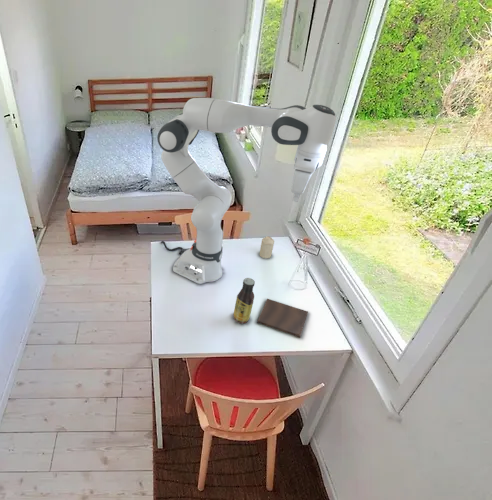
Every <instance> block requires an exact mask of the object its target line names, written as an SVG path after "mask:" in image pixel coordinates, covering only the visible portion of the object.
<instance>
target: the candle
mask: <svg viewBox="0 0 492 500" xmlns="http://www.w3.org/2000/svg"><path fill="white" fill-rule="evenodd" d="M274 245H275V240H274V238H272V236H267V235H266V236H265V237H263V238H261V243H260V248H259V256H260V257H261V258H262V259H270V258H271V257H272V254H273V249H274Z"/></svg>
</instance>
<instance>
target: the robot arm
mask: <svg viewBox="0 0 492 500" xmlns="http://www.w3.org/2000/svg"><path fill="white" fill-rule="evenodd" d="M336 117H337V115H336V113H335V111H334V110H333V109H332V108H331V107H328V106H327V105H323V104H312V106H309V107H307V108H306V107H305V106H303V105H300V104H299V105H298V104H296V105H290V106H287V107H281V108H278V107H277V108H276V107H267V106H258V105H257V106H256V105H249V104H244V103H238V102H235V101H230V100H225V99H221V98H220V99H219V98H214V97H193V98H190V99H188V100H187V101H186V103H185V104H184V106H183V109H182V113H179V114H178V115H176V116H174V117H172V118H171V119H169V120H168V122H166V123H164V124H163V126H161V128H160V129H159V131H158V133H157V137H156V138H157V144H158V146H159V147H160V148H161V150H162V152H161V153H160V154H161V156H160V158H161V161H162V163H163V165H164V167H165V169H166V170H167V172H168V173H169V175H170V177H171V178H172V179H173V180H174V182H175V183H176V184H177V186H178V187H179V189H180V190H181V191H182V192H183V193H184V194H185V195H190V196H192V197H194V198H195V199H196V200H197V201H198V203H197V204H196V205H195V206H194V208H193V210H192V213H191V216H190V221H191V223H192V225H193V227H195V228H196V229H195V230H196V238H195V239H194V241H193V243H192V245H191V247H190V248H183V247H181V246H177V247H174V248H169V247H168V246H167V244H166V242H165V241H164V240H161V241H160V243H162V244H163V246H164V248H165V250H167V251H169V252H174V251H177V250H180V251H179V252H178V254H179V255H180V257H178V258H177V259H176V260H175V262H174V263H173V266H172V272H174V273H175V274H177V275H179V276H181V277H183V278H185V279H188V280H190V281H191V282H194V283H195V284H197V285H203V284H205V283H212V282H216V281H218V280H220V279H221V278H222V276H223V269H222V268H223V267H222V258H223V240H224V231H223V228H222V220H223V218H224V216H225V214H226V213H227V211H228V210H229V209H230V207H231V204H232V200H233V196H232V192H231V191H230V190H229V189H228V188H227V187H225V186H222V185H221V186H220V185H219V184H217V183H216V182H214V181H213V179H211V178H210V177H208V175H207V174H206V173H205V171H203V169H202V167H200V165H199V164H198V163H197V161H196V160H195V159H194V157H193V156H192V154H191V153H190V150H189V146H191V145H192V144H193V142H194V140H195V139H196V138H197V137H198V134H199V132H200V131H206V132H211V133H215V134H216V133H217V134H220V133H221V134H226V133H227V134H228V133H231V132H234V131H236V130H238V129H241V128H244V127H249V126H258V127H267V128H271V130H270V131H271V137H272V139H273V140H274V141H275V142H276V143H277V144H279V145H284V146H297V148H296V152H295V156H294V159H293V161H294V165H293V169H294V173H293V178H292V182H291V183H292V184H291V193H293V198H292V202H294V203H298V202H299V200H300V197H301V195H304V193H305V190H306V189H307V186H308V184H309V182H310V180H311V178H312V176H313V174H314V173H315V172H316V171H317V170H318V169H320V167H322V166H323V163H324V160H325V157H326V153H327V151H328V143H329V142H330V140H331V139H332V136H333V132H334V129H335V124H336Z"/></svg>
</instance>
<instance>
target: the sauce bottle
mask: <svg viewBox="0 0 492 500" xmlns="http://www.w3.org/2000/svg"><path fill="white" fill-rule="evenodd" d="M255 285H256V283H255V279H254V278H251V277H246V278H245V277H244V279H243V281H242V287H241V289H240V291H239V292H238V294H237V295H236V299H235V304H234V308H233V309H234V310H233V319H234V321H235V322H237V323H238V324H241V325H242V324H246V323H248V322H249V320H250V318H251V314H252V309H253V305H254V300H255V293H254V287H255Z"/></svg>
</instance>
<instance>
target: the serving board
mask: <svg viewBox="0 0 492 500" xmlns="http://www.w3.org/2000/svg"><path fill="white" fill-rule="evenodd" d="M308 313H309V311H308V310H304V309H301V308H299V307H295V306H292V305H288V304H286V303H282V302H279V301H276V300H273V299H270V298H267V299H266V300H265V303H264V305H263V307H262V310H261V312H260V314H259V317H258V319H257V321H256V322H257V324H259V325H262V326H265V327H268V328H272V329H274V330H276V331H280V332H281V333H282V332H283V333H285V334H288V335H292V336H294V337H297V338H301V336H302V333H303V330H304V326H305V324H306V320H307V317H308Z"/></svg>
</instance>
